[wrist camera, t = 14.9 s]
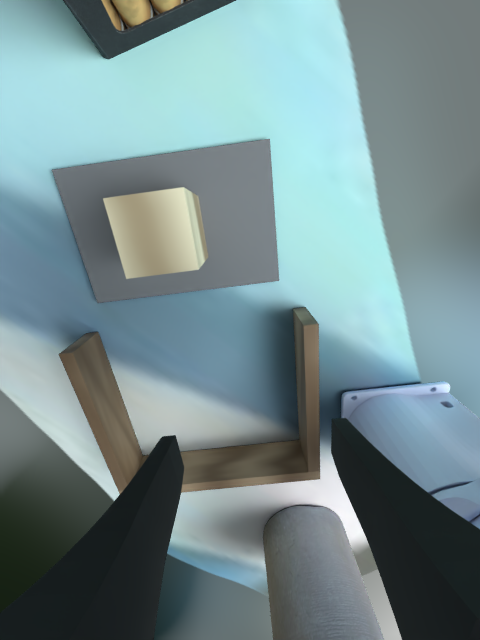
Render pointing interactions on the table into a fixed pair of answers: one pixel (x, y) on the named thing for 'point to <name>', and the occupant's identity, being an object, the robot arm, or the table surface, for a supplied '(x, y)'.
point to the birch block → (158, 232)
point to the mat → (216, 210)
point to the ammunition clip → (135, 20)
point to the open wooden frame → (210, 464)
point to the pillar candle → (315, 579)
